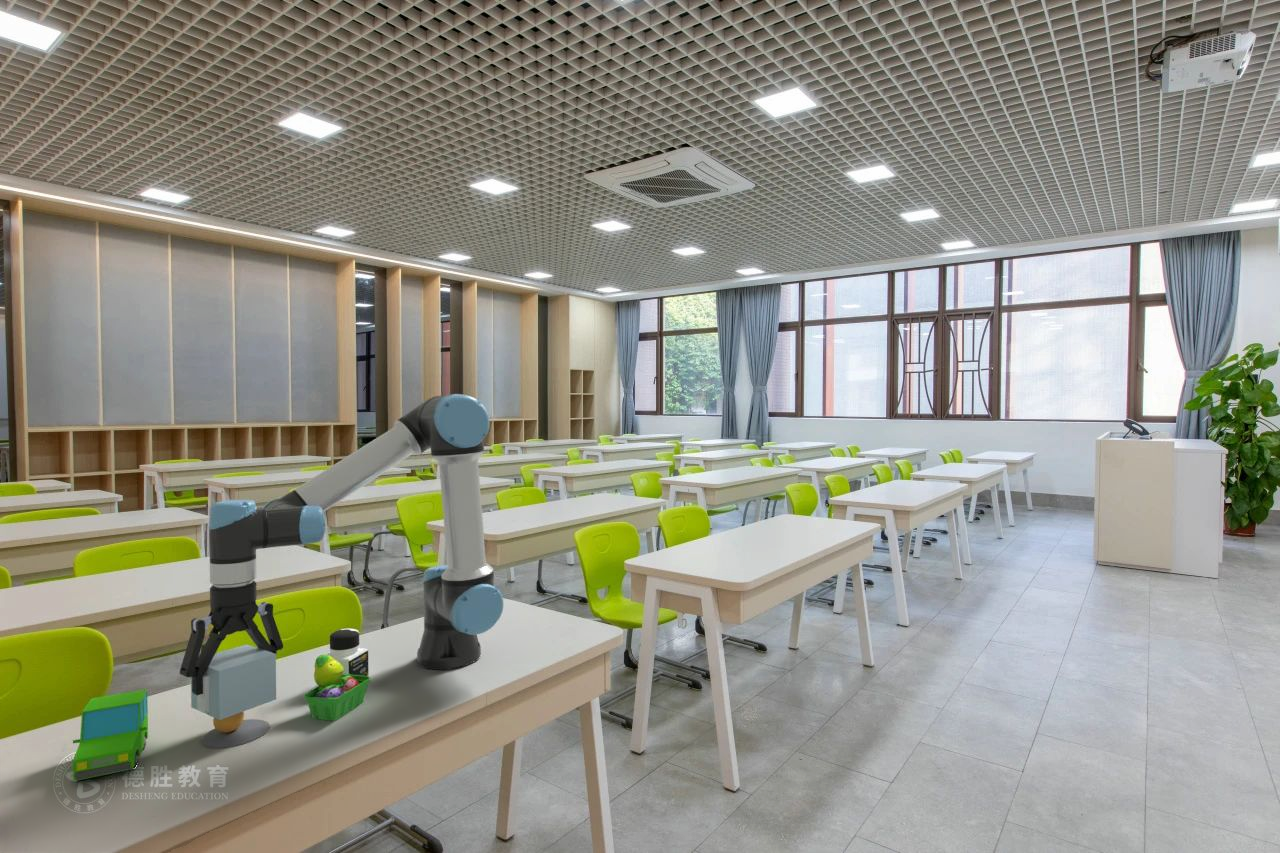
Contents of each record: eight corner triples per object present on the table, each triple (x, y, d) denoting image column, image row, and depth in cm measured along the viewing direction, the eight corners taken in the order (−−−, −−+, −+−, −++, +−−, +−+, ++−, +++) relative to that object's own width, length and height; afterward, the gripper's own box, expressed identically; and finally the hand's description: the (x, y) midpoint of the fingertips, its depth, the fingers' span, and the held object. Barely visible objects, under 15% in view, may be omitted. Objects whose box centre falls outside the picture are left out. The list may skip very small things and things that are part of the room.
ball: (241, 695, 129) (233, 711, 131) (213, 704, 125) (205, 720, 127) (251, 716, 127) (243, 732, 129) (223, 726, 123) (215, 742, 125)
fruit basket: (335, 725, 130) (334, 667, 129) (297, 720, 132) (296, 663, 131) (372, 700, 141) (371, 647, 140) (336, 696, 143) (335, 644, 143)
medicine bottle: (349, 692, 145) (348, 637, 145) (320, 689, 146) (319, 635, 146) (369, 679, 152) (368, 627, 152) (341, 677, 153) (340, 625, 153)
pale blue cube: (276, 699, 128) (275, 653, 128) (219, 720, 119) (219, 671, 119) (247, 688, 133) (246, 644, 133) (191, 707, 124) (190, 660, 124)
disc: (281, 728, 128) (281, 727, 128) (220, 753, 119) (220, 752, 119) (250, 715, 134) (250, 714, 134) (190, 738, 124) (190, 737, 124)
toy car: (63, 792, 107) (61, 730, 107) (85, 755, 119) (83, 699, 119) (141, 775, 112) (140, 716, 112) (155, 741, 124) (154, 688, 123)
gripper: (281, 568, 137) (282, 675, 138) (155, 593, 118) (156, 718, 118) (302, 573, 133) (303, 683, 134) (175, 599, 114) (177, 728, 114)
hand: (234, 699), depth 126 cm, fingers closed on pale blue cube, 10 cm apart
